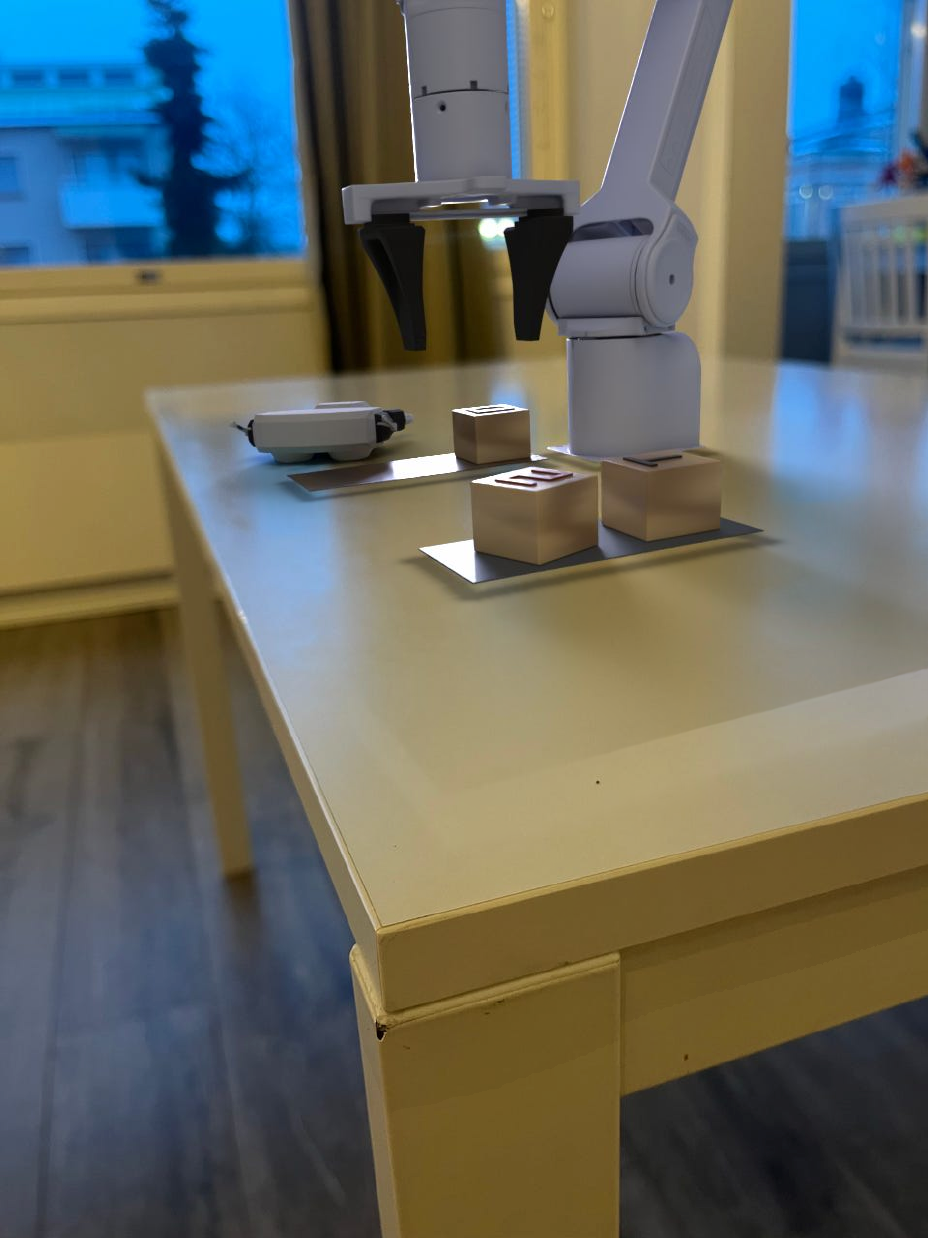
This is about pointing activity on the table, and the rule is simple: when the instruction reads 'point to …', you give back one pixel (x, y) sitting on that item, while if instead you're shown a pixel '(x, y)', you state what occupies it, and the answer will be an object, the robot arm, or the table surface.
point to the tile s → (535, 514)
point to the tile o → (491, 433)
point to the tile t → (661, 494)
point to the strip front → (610, 546)
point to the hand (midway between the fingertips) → (472, 345)
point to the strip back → (393, 471)
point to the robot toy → (324, 431)
